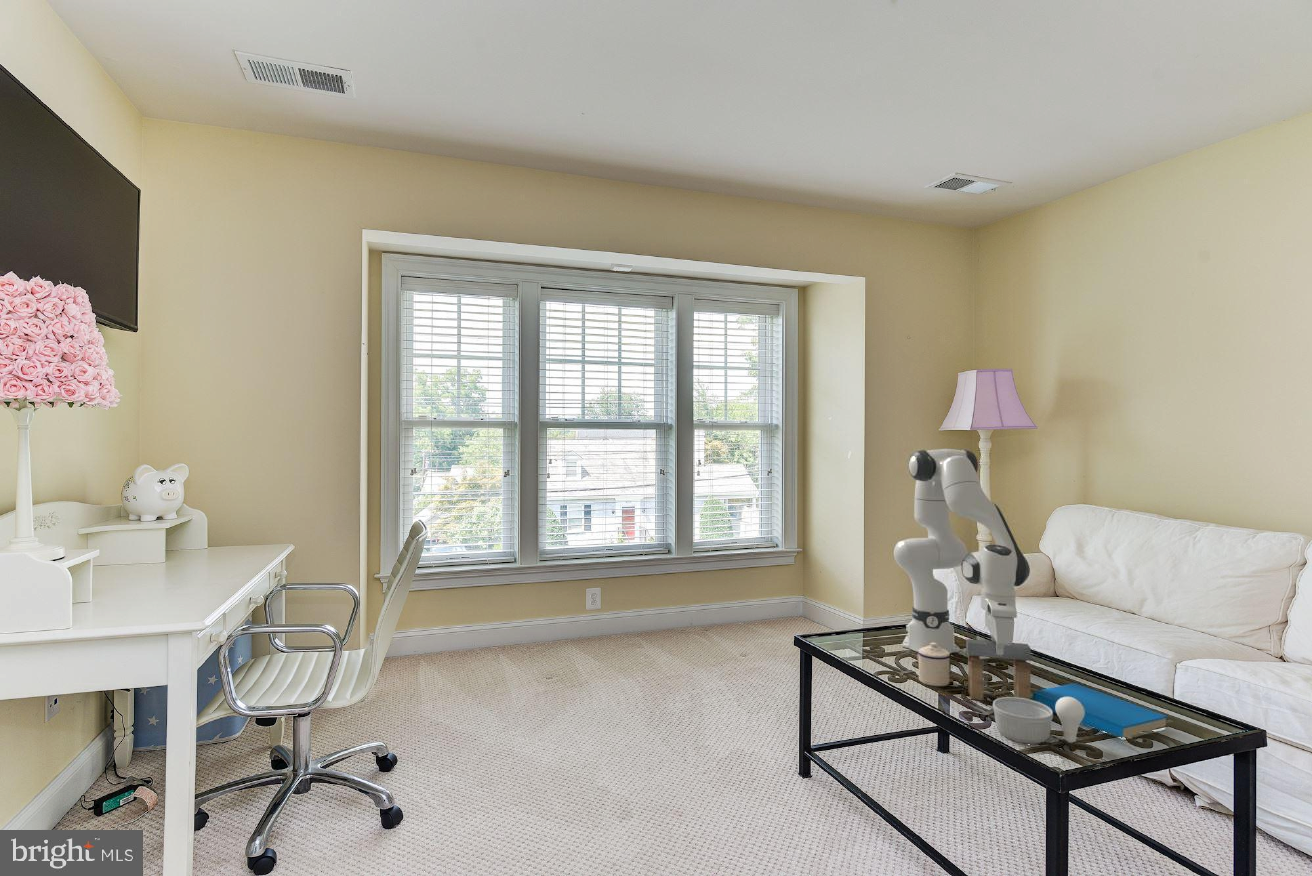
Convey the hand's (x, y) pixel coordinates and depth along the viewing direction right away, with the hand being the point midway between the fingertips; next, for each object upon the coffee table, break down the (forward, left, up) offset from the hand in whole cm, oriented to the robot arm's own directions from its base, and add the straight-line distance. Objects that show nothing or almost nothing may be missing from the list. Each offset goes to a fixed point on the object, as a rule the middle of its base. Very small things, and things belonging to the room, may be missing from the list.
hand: (997, 651), depth 192 cm
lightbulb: (+26, +11, -13) cm, 32 cm away
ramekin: (+24, +1, -14) cm, 28 cm away
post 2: (0, +6, -13) cm, 15 cm away
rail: (0, 0, -1) cm, 1 cm away
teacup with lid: (-10, -17, -13) cm, 24 cm away
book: (+7, +23, -14) cm, 27 cm away
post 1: (0, -6, -13) cm, 14 cm away
